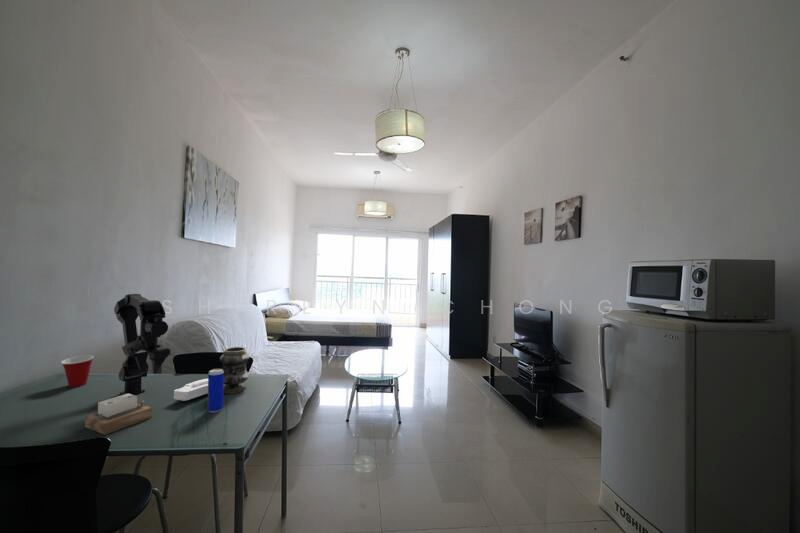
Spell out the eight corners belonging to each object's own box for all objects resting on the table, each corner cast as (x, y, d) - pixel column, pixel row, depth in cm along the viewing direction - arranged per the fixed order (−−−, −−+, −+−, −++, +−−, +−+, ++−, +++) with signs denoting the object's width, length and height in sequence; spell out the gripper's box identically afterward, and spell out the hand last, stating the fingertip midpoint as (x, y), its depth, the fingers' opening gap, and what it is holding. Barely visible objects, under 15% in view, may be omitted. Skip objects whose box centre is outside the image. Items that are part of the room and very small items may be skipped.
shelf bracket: (211, 383, 160) (233, 386, 156) (160, 399, 136) (184, 403, 133) (212, 371, 160) (234, 374, 157) (161, 385, 137) (185, 389, 133)
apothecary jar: (245, 393, 146) (246, 351, 146) (215, 395, 143) (216, 352, 143) (251, 384, 158) (251, 345, 158) (222, 385, 155) (223, 346, 155)
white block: (97, 413, 116) (98, 401, 116) (128, 404, 124) (128, 392, 124) (106, 417, 113) (107, 404, 113) (137, 407, 122) (137, 395, 122)
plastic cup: (53, 387, 148) (54, 360, 148) (82, 379, 159) (83, 354, 159) (71, 390, 145) (71, 362, 145) (99, 382, 156) (100, 356, 156)
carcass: (84, 426, 114) (85, 410, 114) (132, 411, 127) (132, 396, 127) (104, 434, 109) (104, 418, 109) (151, 417, 122) (152, 402, 122)
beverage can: (211, 407, 131) (212, 368, 131) (225, 407, 132) (226, 368, 132) (204, 413, 126) (205, 372, 126) (219, 412, 127) (220, 372, 127)
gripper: (112, 333, 132) (111, 373, 132) (140, 338, 124) (139, 381, 124) (143, 329, 142) (142, 366, 142) (171, 333, 134) (171, 373, 134)
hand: (148, 371), depth 135 cm, fingers open, 9 cm apart
